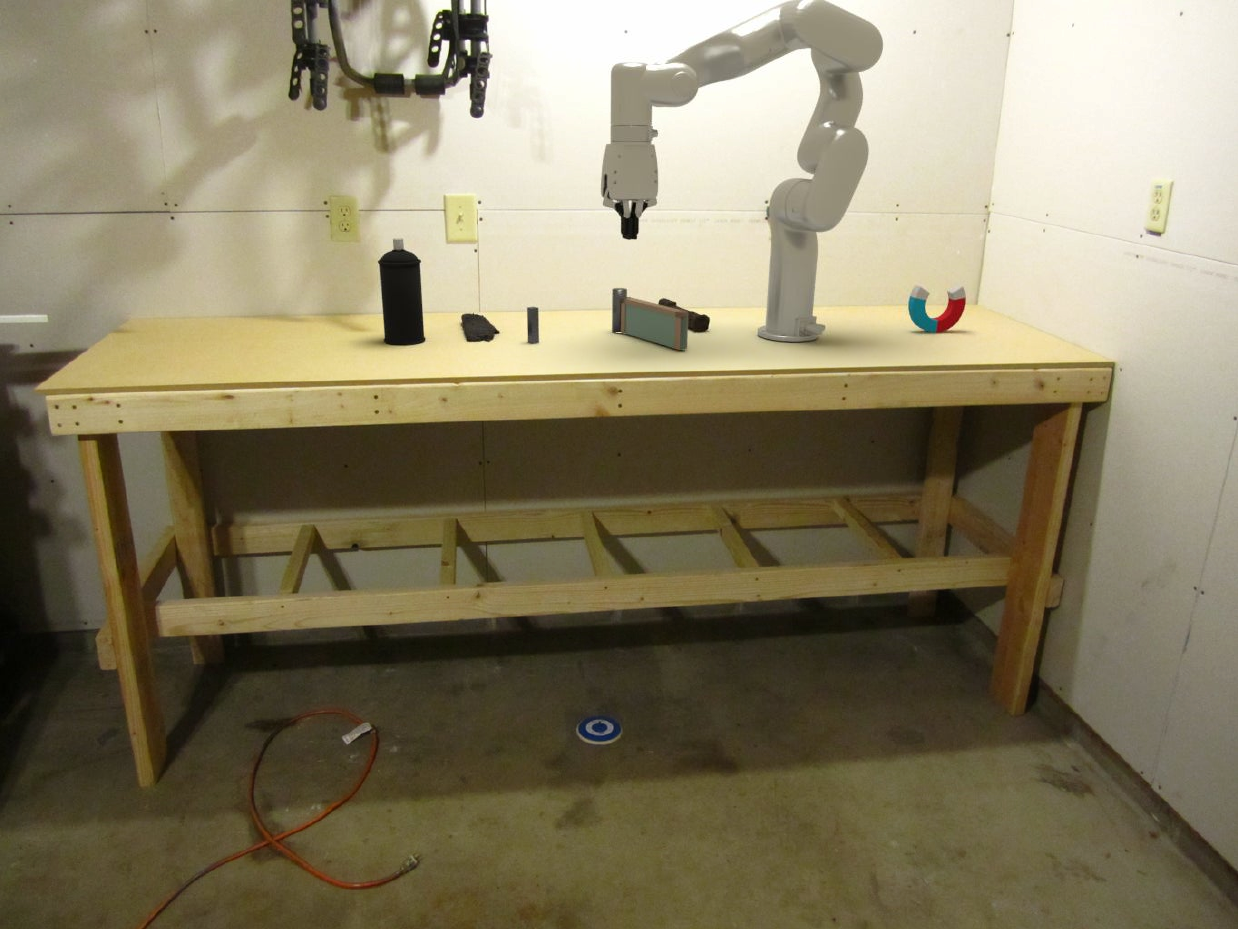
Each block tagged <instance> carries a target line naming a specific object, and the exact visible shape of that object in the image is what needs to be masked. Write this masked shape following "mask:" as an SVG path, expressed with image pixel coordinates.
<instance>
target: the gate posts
mask: <svg viewBox="0 0 1238 929" xmlns="http://www.w3.org/2000/svg"><path fill="white" fill-rule="evenodd" d="M611 294H612V295H611V296H612V298H611V299H612V302H611V303H612V306H611V308H612V313H611V322H612V323H611V333H613V332H621V298H625V297H628V289H627V288H624V287H623V288H622V287H616V288H615V287H614V288H612V293H611ZM526 317H527V318H526V319H527V320H526V322H527V329H526V330H527V343H530V344H539V343H540V337H539V336H540V334H539V332H540V329H539V326H540V325H539V322H540V321H539V307H536V306H529V307H526Z"/></svg>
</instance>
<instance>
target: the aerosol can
mask: <svg viewBox="0 0 1238 929" xmlns="http://www.w3.org/2000/svg"><path fill="white" fill-rule="evenodd" d="M392 247H393V249H392V250H390V251H388V252H386V253H384V254H383V255H382V256H381V257H380V259H379V260H378V261H377V263H378V265H379V277H380V290H381V291H380V292H381V304H382V318H383V320H382V322H383V332H384V333H383V334H384V338H383V342H384V343H385V344H387V345H391V346H392V345H394V346H411V345H417V344H422V343H424V342H425V341H426V337H425V330H424V329H425V328H424V325H425V324H424V312H423V297H422V296H423V295H422V294H423V293H422V279H421V278H422V277H421V263H422V260H421V259H419V258H418V256H417V255H416V254H415V253H413V252H412V251H408V250H407V249H405V248H404V238H401V237H400V238H399V237H397V238H396V237H395V238H392Z"/></svg>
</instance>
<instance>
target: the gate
mask: <svg viewBox="0 0 1238 929" xmlns="http://www.w3.org/2000/svg"><path fill="white" fill-rule="evenodd" d="M688 331H689V327H688V312H687V311H683V310H679V309H675V308H671V307H667V306H663V305H659V304H658V303H655V302H651V301H647V300H642V299H639V298H635V297H631V296H627V297H625V298H621V332H622V333H621V334H627V335H630V336H632V337H637V338H639V339H643V340H646V341H649V342H652V343H657V344H660V345H663V346H666V347H668V348H669V347H670V348H672V349H675V350H678V351H682V350H687V349H688V338H689V337H688V334H689V332H688Z"/></svg>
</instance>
